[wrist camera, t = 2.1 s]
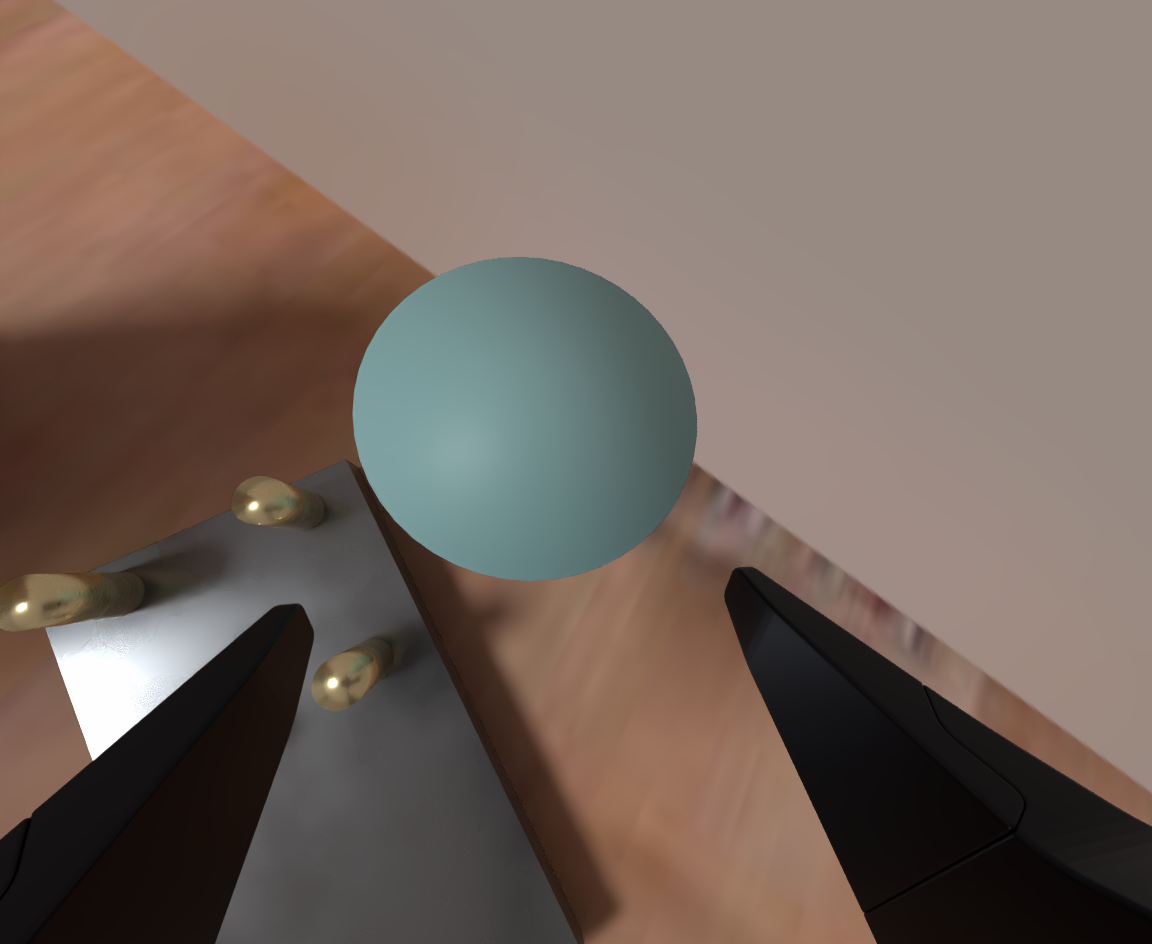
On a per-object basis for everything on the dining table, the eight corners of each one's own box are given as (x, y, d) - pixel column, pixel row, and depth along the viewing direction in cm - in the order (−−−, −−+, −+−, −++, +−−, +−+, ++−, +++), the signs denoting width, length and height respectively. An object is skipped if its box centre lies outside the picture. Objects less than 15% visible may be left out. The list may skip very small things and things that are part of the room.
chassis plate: (581, 930, 16) (609, 1067, 12) (293, 1171, 13) (189, 1464, 9) (358, 467, 18) (312, 438, 14) (77, 592, 16) (-87, 603, 11)
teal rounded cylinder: (597, 532, 20) (755, 477, 7) (491, 592, 18) (452, 656, 6) (542, 432, 20) (598, 219, 8) (436, 483, 19) (292, 324, 6)
